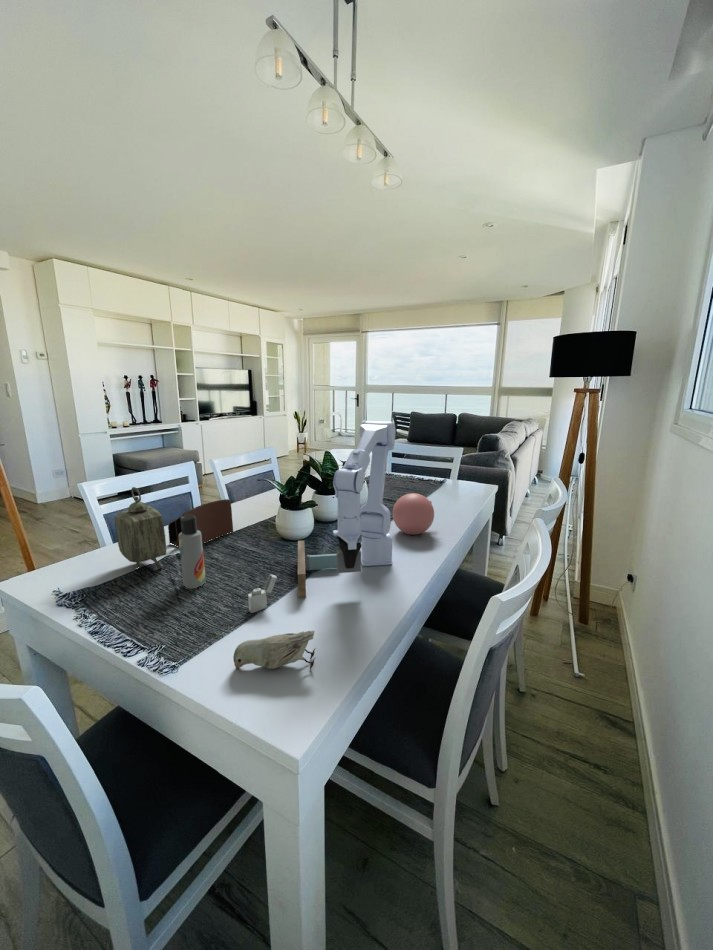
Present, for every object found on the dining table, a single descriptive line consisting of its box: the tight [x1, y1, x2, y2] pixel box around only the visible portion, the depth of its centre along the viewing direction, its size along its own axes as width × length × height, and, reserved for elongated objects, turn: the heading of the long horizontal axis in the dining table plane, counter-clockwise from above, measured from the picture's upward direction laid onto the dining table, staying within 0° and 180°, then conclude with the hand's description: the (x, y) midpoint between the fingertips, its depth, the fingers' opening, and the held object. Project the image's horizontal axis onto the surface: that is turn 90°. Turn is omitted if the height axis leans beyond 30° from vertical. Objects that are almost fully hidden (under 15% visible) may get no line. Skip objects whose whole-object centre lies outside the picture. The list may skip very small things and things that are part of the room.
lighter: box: [247, 573, 278, 614], centre depth 95 cm, size 7×2×8 cm, turn 125°
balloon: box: [392, 492, 435, 536], centre depth 144 cm, size 15×20×15 cm
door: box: [305, 553, 337, 571], centre depth 115 cm, size 10×2×4 cm, turn 98°
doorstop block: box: [336, 546, 362, 574], centre depth 100 cm, size 6×4×6 cm, turn 98°
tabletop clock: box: [114, 486, 167, 569], centre depth 113 cm, size 14×9×25 cm, turn 47°
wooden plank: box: [297, 540, 307, 599], centre depth 110 cm, size 2×22×7 cm, turn 8°
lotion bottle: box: [178, 515, 206, 589], centre depth 104 cm, size 6×6×20 cm
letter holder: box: [167, 499, 234, 547], centre depth 137 cm, size 10×20×14 cm, turn 148°
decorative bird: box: [233, 630, 317, 672], centre depth 75 cm, size 5×16×8 cm, turn 95°
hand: (348, 563), depth 101 cm, fingers closed on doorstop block, 4 cm apart
